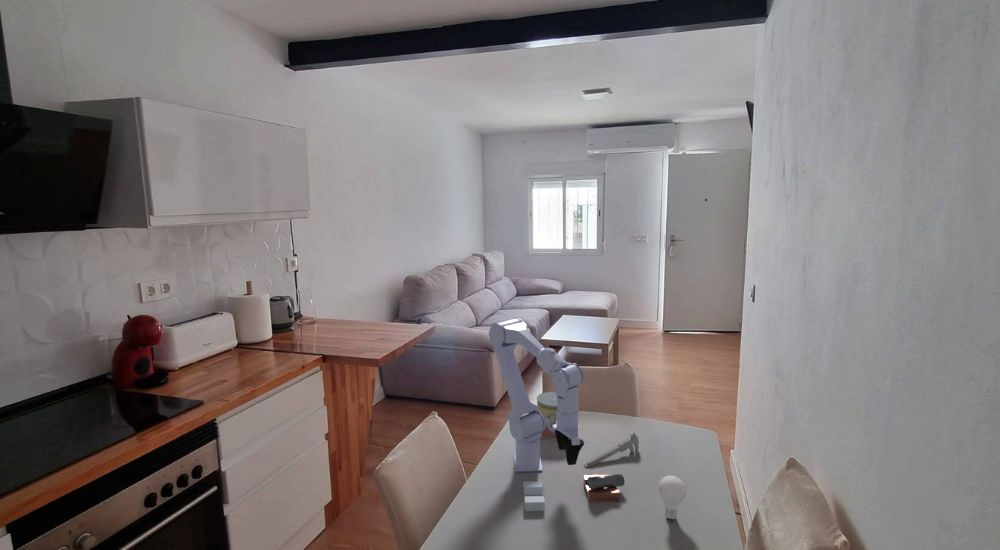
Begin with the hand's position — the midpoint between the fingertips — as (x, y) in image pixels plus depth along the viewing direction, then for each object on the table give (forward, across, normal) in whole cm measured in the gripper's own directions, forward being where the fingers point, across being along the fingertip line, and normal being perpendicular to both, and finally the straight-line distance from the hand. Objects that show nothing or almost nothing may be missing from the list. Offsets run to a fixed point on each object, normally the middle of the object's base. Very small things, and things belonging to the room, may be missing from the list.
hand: (567, 456), depth 130 cm
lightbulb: (+10, +17, +21) cm, 29 cm away
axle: (+7, +5, +9) cm, 13 cm away
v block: (+9, +4, +8) cm, 13 cm away
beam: (+9, +3, -10) cm, 14 cm away
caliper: (+10, -12, +18) cm, 24 cm away
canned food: (+10, -32, +5) cm, 33 cm away
